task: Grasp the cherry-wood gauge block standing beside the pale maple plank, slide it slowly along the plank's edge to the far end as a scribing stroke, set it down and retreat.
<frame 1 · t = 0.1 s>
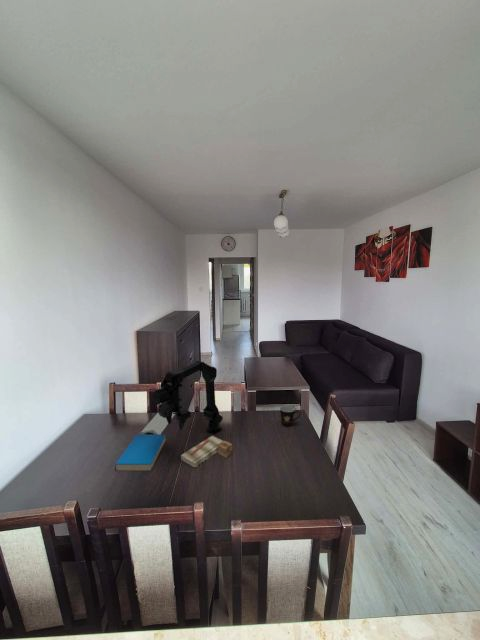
hand: (175, 426, 140), 15 cm above the table, fingers open, 9 cm apart
crown molding: (159, 423, 174), on the table
coffee mug: (289, 425, 169), on the table
book: (143, 455, 142), on the table
gauge: (225, 453, 141), on the table
carpenter pencil: (200, 447, 142), point 2 cm above the table, touching plank
plank: (204, 452, 142), on the table
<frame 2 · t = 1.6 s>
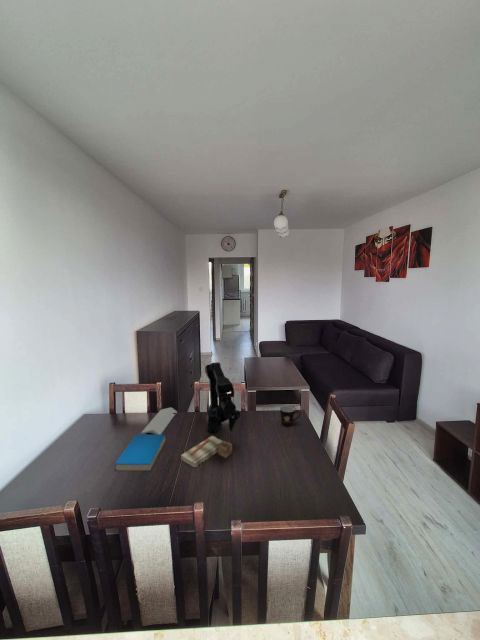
hand: (224, 434, 140), 10 cm above the table, fingers open, 9 cm apart
nothing on the table moved.
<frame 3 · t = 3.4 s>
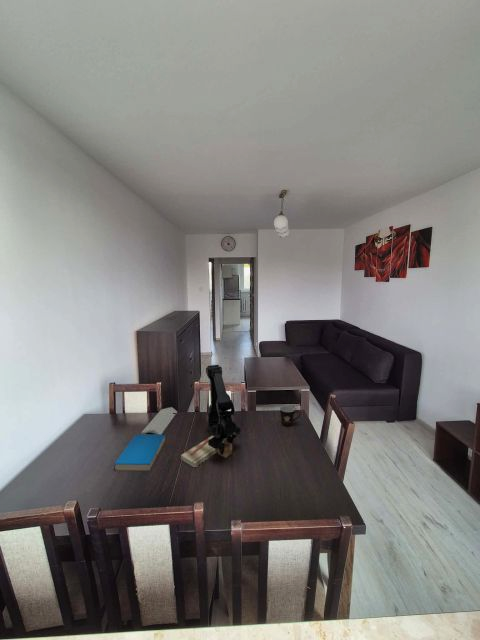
hand: (225, 451, 141), 1 cm above the table, fingers closed on gauge, 5 cm apart
gauge: (225, 453, 141), on the table, touching gripper
everything else where it was.
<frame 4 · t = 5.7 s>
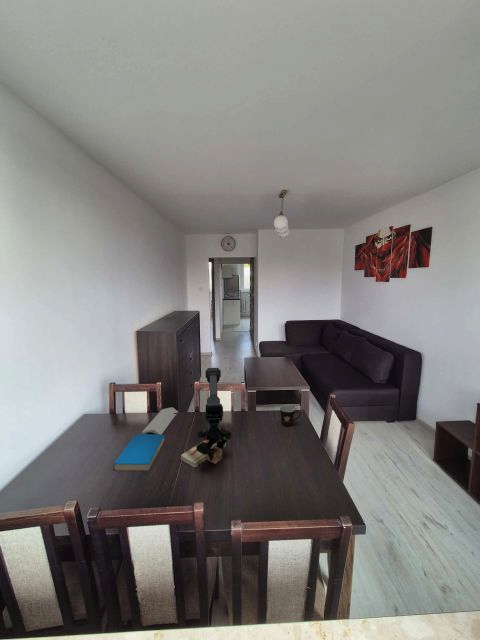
hand: (214, 457, 135), 2 cm above the table, fingers closed on gauge, 5 cm apart
gauge: (214, 459, 135), point 1 cm above the table, touching gripper
everything else where it was.
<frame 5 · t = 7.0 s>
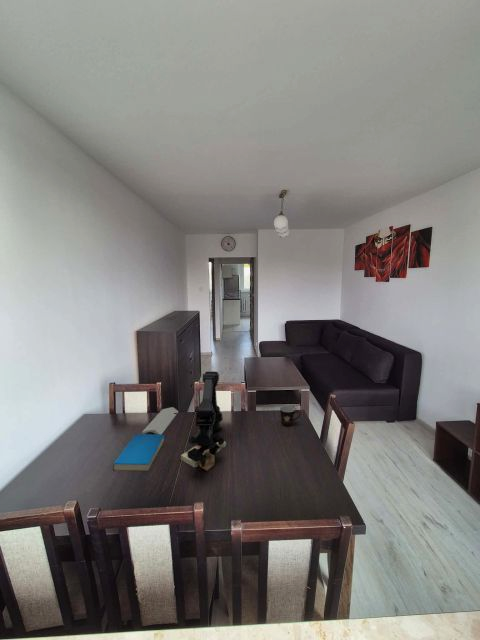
hand: (207, 463, 131), 2 cm above the table, fingers closed on gauge, 5 cm apart
gauge: (207, 465, 131), point 1 cm above the table, touching gripper
everything else where it was.
when the fingers open (1 cm above the table, at t = 7.9 s): gauge stays where it is, on the table.
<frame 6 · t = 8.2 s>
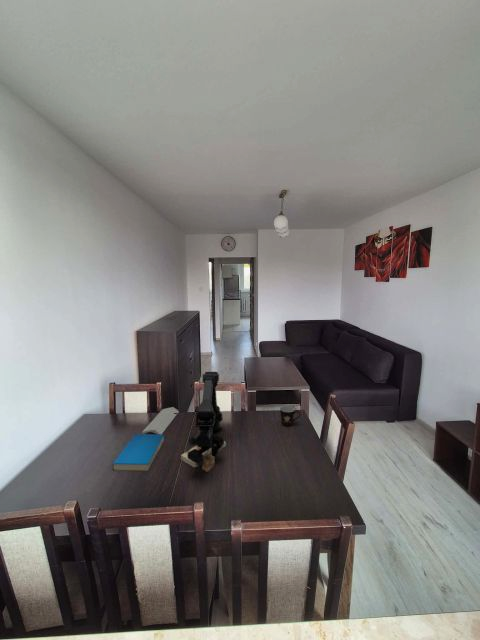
hand: (207, 464, 131), 1 cm above the table, fingers open, 8 cm apart
gauge: (207, 467, 131), on the table
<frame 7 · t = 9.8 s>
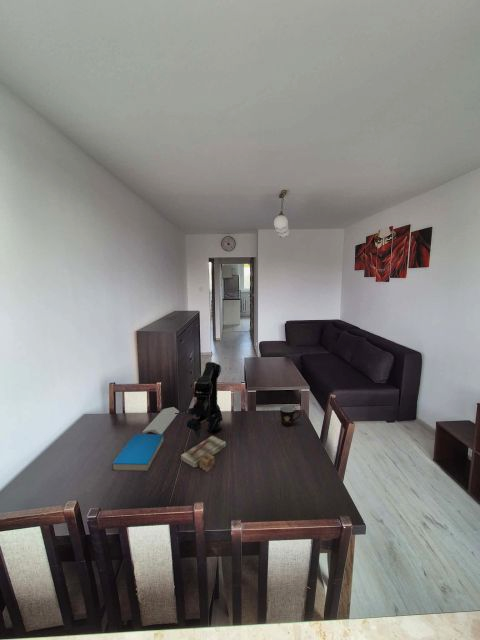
hand: (205, 433, 139), 11 cm above the table, fingers open, 9 cm apart
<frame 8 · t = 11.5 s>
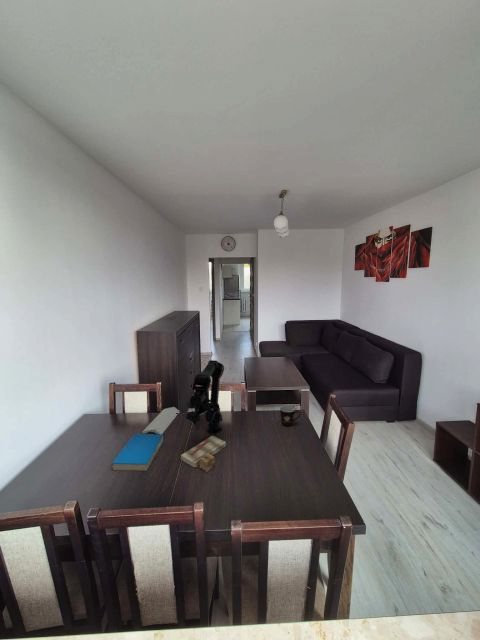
hand: (203, 426, 145), 12 cm above the table, fingers open, 9 cm apart
at the end: gauge inside the target area (0.0 cm from its centre), on the table; gauge tilted 0°; the gripper is holding nothing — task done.
